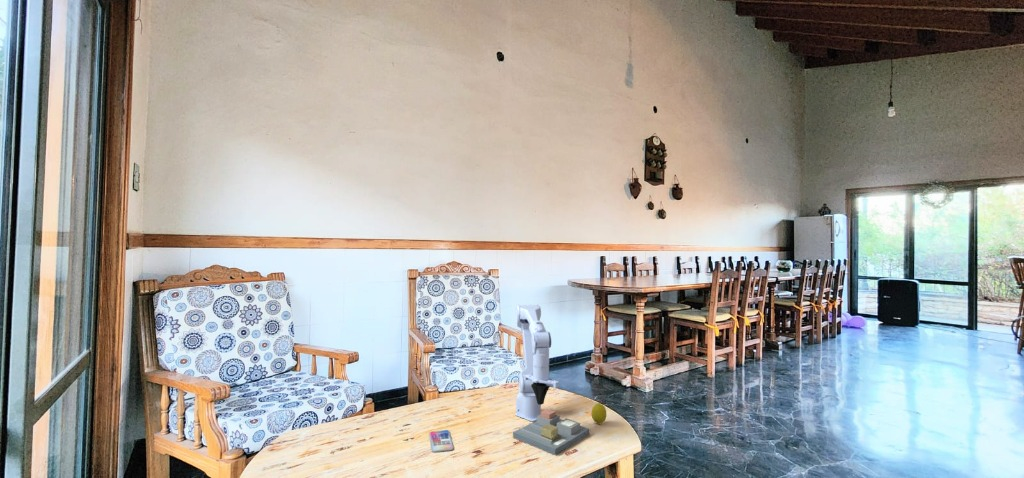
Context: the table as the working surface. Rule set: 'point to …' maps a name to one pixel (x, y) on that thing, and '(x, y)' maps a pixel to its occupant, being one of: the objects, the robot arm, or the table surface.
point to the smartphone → (440, 441)
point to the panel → (534, 438)
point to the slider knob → (549, 432)
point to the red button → (548, 414)
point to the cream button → (568, 423)
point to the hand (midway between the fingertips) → (540, 403)
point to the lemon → (599, 413)
